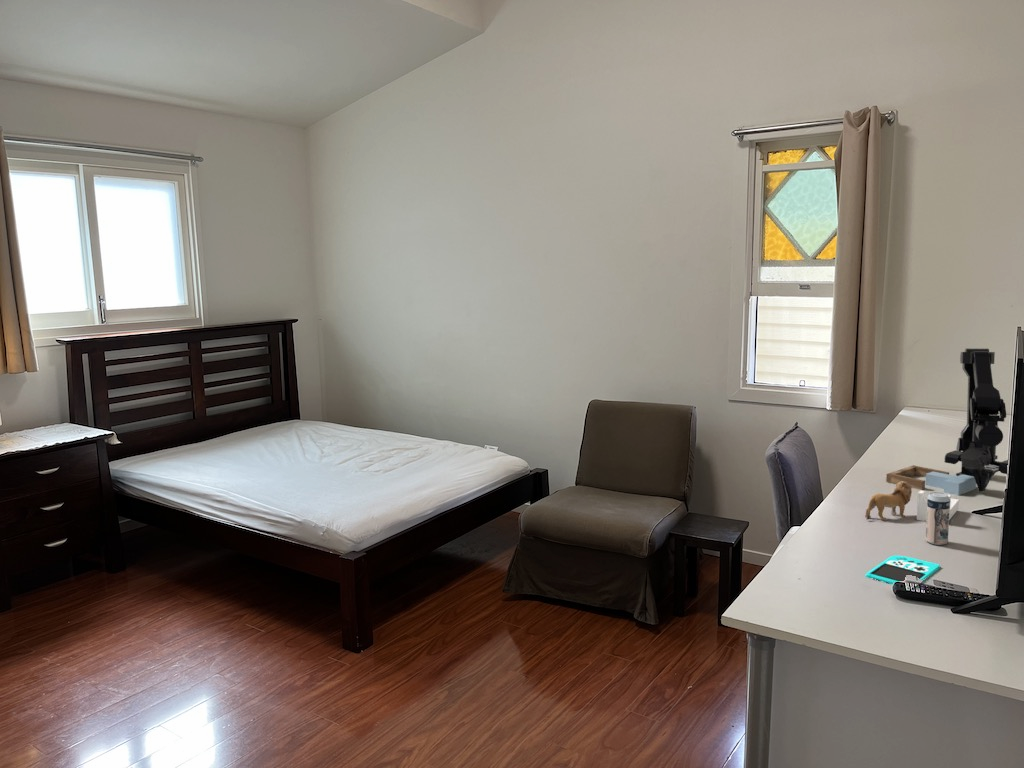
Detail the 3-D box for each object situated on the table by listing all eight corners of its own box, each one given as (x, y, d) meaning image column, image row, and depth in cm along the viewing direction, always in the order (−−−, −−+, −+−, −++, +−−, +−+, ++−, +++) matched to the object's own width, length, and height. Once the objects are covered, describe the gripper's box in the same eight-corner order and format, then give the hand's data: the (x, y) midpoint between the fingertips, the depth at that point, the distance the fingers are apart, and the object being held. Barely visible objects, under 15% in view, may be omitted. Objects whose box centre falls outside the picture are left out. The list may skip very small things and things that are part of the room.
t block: (937, 480, 229) (938, 469, 229) (976, 488, 220) (976, 477, 219) (920, 487, 224) (920, 475, 223) (958, 495, 215) (958, 483, 214)
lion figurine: (899, 510, 205) (900, 478, 203) (916, 515, 200) (917, 483, 199) (858, 518, 199) (859, 486, 198) (875, 524, 195) (876, 491, 193)
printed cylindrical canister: (939, 547, 178) (942, 499, 176) (920, 541, 182) (923, 493, 180) (952, 543, 180) (954, 495, 178) (933, 537, 184) (935, 490, 182)
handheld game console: (941, 569, 167) (941, 564, 166) (913, 592, 156) (913, 586, 156) (894, 558, 174) (894, 552, 174) (864, 579, 164) (864, 573, 163)
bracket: (947, 525, 192) (948, 497, 191) (916, 520, 197) (917, 492, 196) (958, 512, 202) (959, 485, 201) (928, 507, 206) (930, 480, 205)
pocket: (913, 472, 238) (913, 465, 238) (948, 480, 229) (949, 472, 228) (886, 481, 230) (886, 474, 230) (922, 489, 221) (922, 481, 220)
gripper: (935, 437, 215) (933, 489, 217) (1006, 448, 199) (1003, 505, 202) (955, 431, 221) (953, 482, 223) (1026, 442, 205) (1022, 496, 208)
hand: (981, 491), depth 214 cm, fingers closed
